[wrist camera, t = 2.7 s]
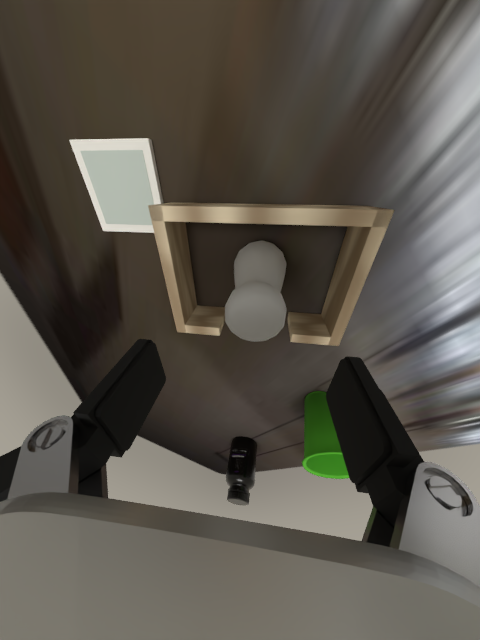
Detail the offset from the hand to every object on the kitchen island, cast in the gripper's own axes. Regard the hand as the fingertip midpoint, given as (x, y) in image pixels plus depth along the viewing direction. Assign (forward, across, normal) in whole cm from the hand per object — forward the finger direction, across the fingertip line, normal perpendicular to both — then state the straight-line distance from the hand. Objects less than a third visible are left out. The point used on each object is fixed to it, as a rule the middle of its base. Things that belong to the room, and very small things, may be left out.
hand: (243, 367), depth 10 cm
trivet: (+16, +15, -8) cm, 23 cm away
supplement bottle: (+18, 0, +48) cm, 51 cm away
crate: (+16, 0, 0) cm, 16 cm away
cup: (+17, -13, +25) cm, 33 cm away
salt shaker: (+17, 0, -1) cm, 17 cm away
